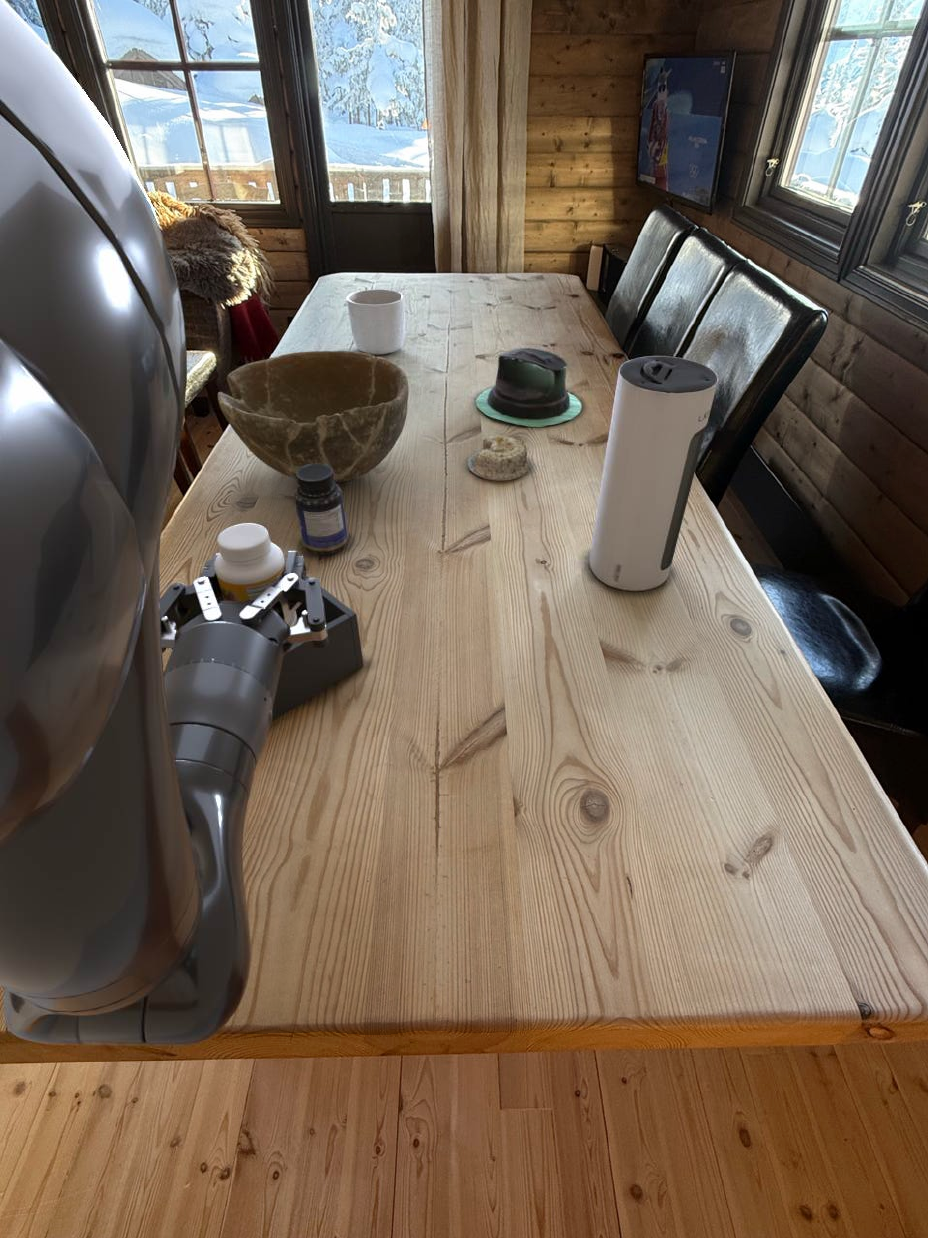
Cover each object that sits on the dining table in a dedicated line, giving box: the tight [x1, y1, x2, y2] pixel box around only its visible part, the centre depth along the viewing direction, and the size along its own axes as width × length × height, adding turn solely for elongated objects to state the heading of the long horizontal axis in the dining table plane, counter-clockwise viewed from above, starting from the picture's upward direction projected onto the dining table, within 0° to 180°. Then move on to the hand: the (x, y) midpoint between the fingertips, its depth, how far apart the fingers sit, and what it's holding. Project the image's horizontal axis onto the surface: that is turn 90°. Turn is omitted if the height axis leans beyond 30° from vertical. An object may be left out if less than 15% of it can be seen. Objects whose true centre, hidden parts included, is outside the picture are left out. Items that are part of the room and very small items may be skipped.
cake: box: [467, 434, 530, 482], centre depth 105 cm, size 10×10×5 cm
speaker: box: [588, 355, 719, 592], centre depth 77 cm, size 11×10×26 cm
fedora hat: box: [475, 347, 582, 428], centre depth 124 cm, size 15×19×20 cm
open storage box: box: [171, 558, 365, 723], centre depth 70 cm, size 15×15×8 cm
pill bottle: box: [293, 463, 349, 556], centre depth 86 cm, size 6×6×11 cm
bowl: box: [217, 350, 410, 484], centre depth 100 cm, size 28×27×15 cm
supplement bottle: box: [214, 522, 297, 627], centre depth 56 cm, size 6×6×10 cm
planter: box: [346, 288, 406, 355], centre depth 145 cm, size 12×12×11 cm
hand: (258, 560), depth 57 cm, fingers closed on supplement bottle, 5 cm apart
